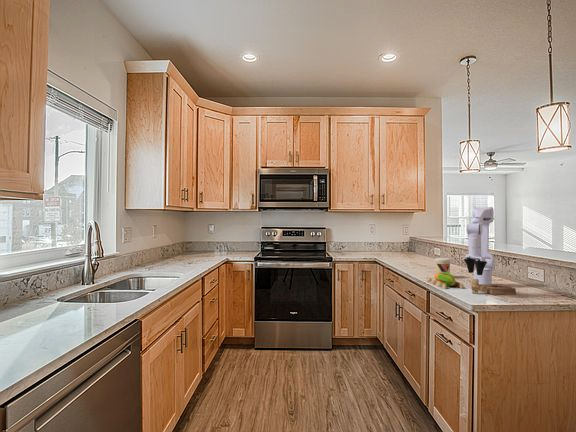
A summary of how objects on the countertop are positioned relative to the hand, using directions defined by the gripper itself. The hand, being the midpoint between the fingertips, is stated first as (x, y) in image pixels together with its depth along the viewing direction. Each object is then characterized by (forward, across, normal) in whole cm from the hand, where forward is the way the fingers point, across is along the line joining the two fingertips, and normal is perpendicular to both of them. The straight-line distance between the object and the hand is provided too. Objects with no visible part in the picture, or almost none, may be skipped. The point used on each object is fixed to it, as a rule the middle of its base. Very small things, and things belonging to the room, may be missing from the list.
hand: (475, 273), depth 173 cm
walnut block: (+10, -2, +12) cm, 16 cm away
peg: (+10, 0, 0) cm, 10 cm away
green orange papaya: (+10, -23, -5) cm, 26 cm away
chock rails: (+10, -23, -5) cm, 26 cm away
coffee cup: (+10, -46, +5) cm, 47 cm away
